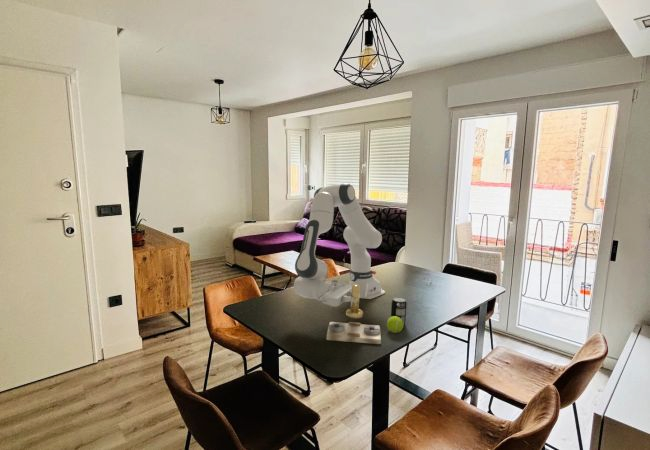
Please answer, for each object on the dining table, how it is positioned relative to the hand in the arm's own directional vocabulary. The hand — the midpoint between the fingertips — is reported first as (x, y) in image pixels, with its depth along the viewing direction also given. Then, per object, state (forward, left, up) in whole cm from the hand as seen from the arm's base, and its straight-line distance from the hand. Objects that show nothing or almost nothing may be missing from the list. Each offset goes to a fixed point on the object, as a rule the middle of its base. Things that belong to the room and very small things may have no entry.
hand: (357, 297), depth 142 cm
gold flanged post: (0, -1, -8) cm, 8 cm away
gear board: (0, -1, -16) cm, 17 cm away
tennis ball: (-17, +6, -17) cm, 24 cm away
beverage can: (-24, +1, -17) cm, 29 cm away
